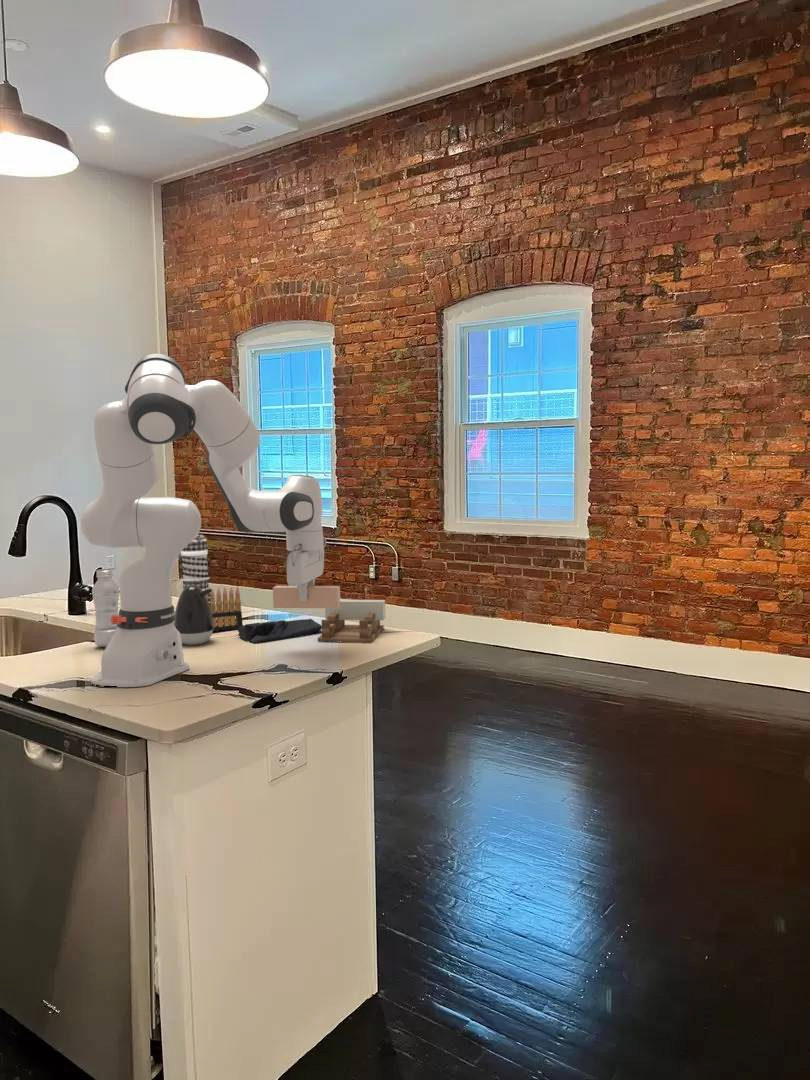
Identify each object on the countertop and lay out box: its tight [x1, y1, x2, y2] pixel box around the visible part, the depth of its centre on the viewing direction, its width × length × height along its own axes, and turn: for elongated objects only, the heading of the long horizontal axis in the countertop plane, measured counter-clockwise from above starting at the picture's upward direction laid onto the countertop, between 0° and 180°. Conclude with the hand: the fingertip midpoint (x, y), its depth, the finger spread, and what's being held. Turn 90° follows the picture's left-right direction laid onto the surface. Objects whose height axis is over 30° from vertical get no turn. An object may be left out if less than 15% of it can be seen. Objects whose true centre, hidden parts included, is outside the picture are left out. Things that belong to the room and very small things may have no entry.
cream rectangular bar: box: [324, 599, 387, 621], centre depth 216 cm, size 16×3×5 cm, turn 80°
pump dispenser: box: [173, 585, 214, 646], centre depth 206 cm, size 10×10×15 cm
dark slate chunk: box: [237, 618, 322, 644], centre depth 215 cm, size 15×22×5 cm
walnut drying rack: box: [317, 613, 385, 644], centre depth 212 cm, size 17×14×6 cm
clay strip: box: [272, 585, 341, 609], centre depth 193 cm, size 16×3×5 cm, turn 81°
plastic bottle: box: [91, 568, 120, 648], centre depth 204 cm, size 6×7×20 cm
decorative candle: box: [178, 534, 211, 605], centre depth 242 cm, size 9×9×25 cm
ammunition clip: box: [205, 585, 244, 632], centre depth 222 cm, size 11×2×12 cm, turn 113°
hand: (306, 599), depth 193 cm, fingers closed on clay strip, 3 cm apart
